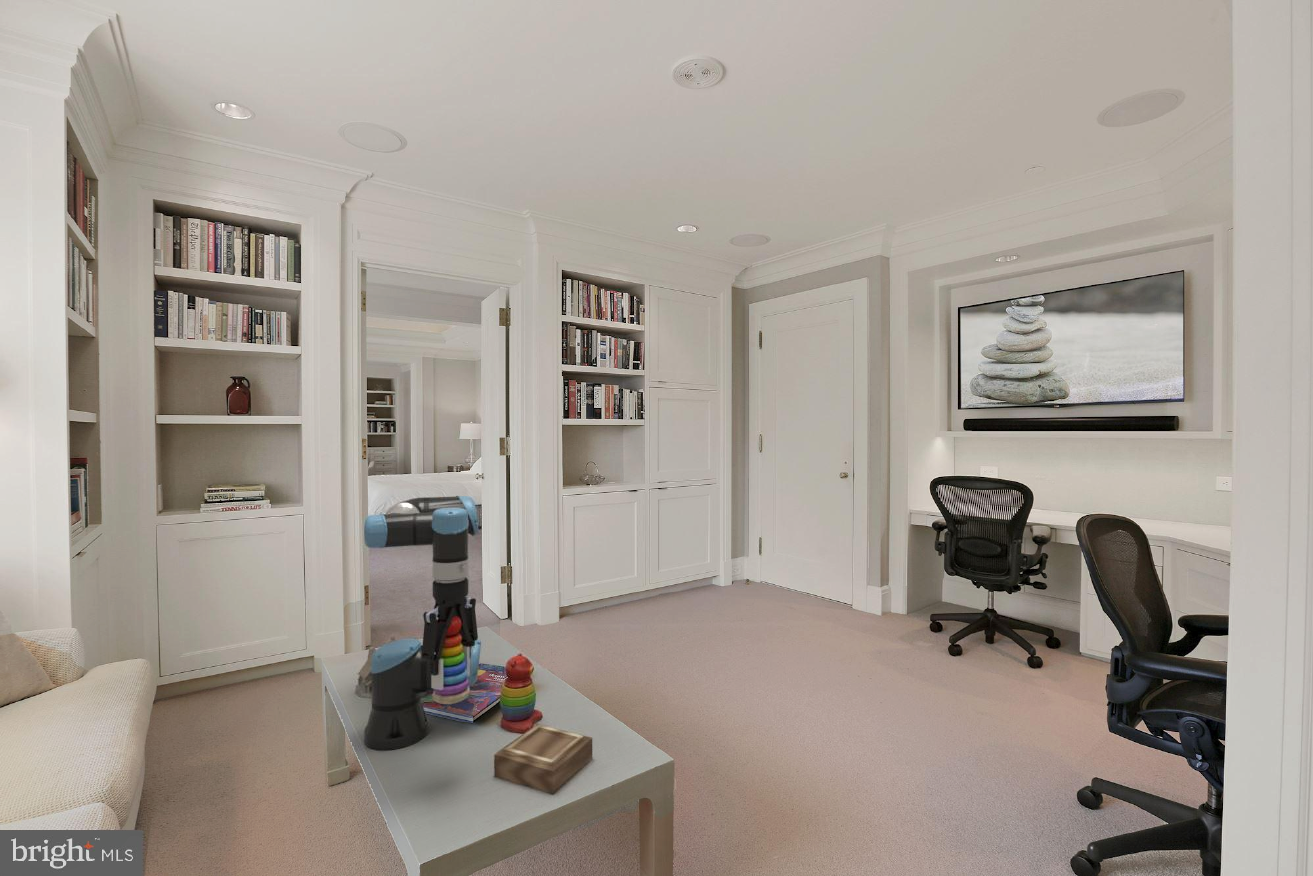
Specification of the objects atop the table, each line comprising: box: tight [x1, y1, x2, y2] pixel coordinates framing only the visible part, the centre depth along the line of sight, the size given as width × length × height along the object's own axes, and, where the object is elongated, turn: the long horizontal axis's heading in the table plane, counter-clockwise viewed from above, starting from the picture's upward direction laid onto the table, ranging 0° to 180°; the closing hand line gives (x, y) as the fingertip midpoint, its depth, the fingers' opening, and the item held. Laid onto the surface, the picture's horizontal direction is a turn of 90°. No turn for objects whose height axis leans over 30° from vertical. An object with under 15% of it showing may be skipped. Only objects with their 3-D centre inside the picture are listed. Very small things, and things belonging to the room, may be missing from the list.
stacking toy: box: [431, 616, 471, 705], centre depth 138 cm, size 8×8×19 cm
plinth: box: [493, 723, 593, 795], centre depth 144 cm, size 16×16×6 cm
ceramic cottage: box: [354, 635, 397, 699], centre depth 186 cm, size 16×16×15 cm
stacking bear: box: [499, 652, 543, 734], centre depth 166 cm, size 11×10×18 cm
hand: (451, 681), depth 138 cm, fingers closed on stacking toy, 7 cm apart
